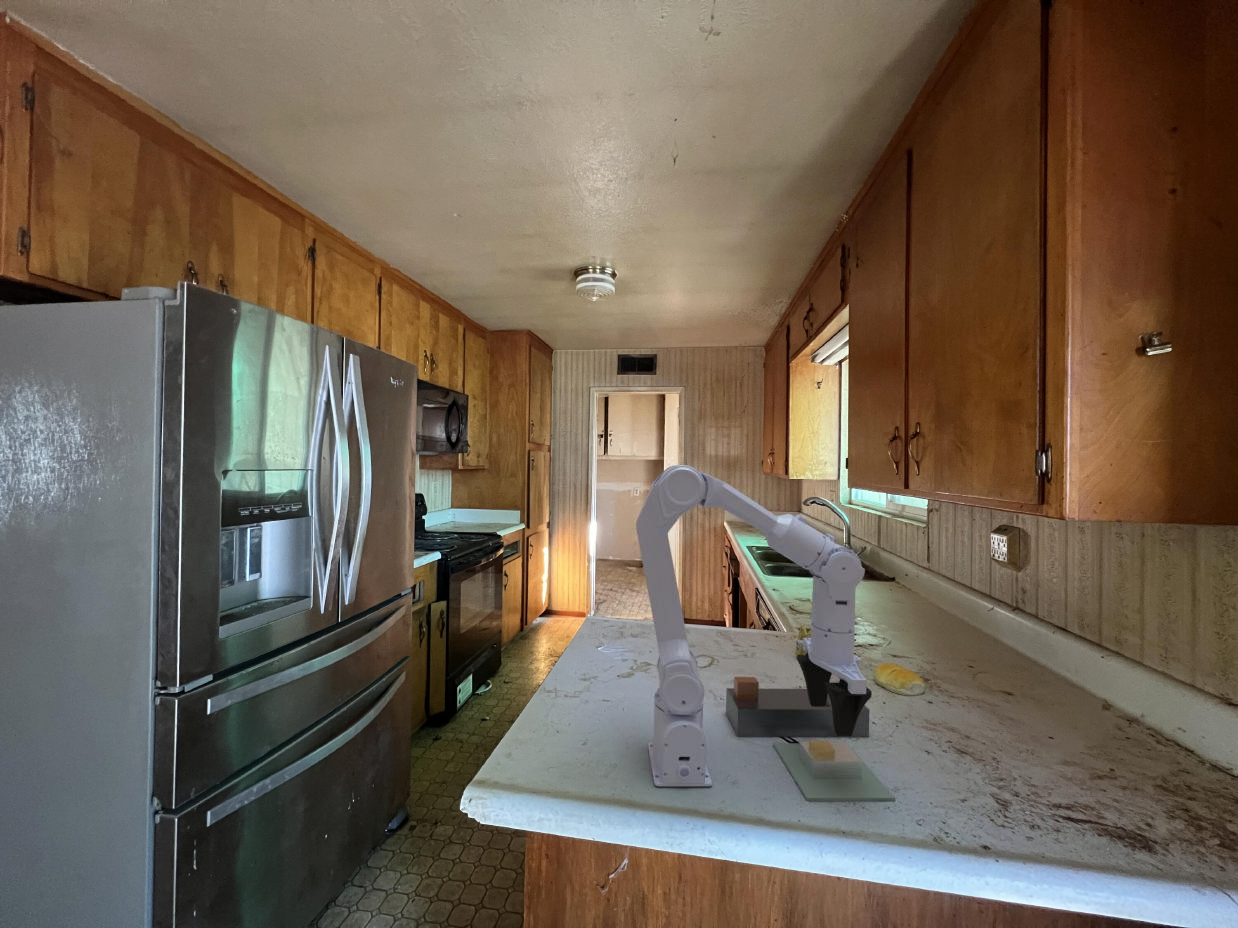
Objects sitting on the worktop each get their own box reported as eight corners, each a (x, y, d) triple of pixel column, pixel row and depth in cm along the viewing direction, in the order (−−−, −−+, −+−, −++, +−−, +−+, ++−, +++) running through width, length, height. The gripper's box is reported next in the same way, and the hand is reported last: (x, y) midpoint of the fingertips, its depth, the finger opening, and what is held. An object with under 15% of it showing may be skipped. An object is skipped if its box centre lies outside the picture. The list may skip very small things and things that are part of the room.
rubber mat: (895, 800, 62) (895, 797, 62) (806, 800, 61) (806, 797, 61) (847, 745, 74) (847, 743, 74) (773, 745, 73) (773, 743, 73)
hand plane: (868, 736, 76) (870, 690, 76) (737, 736, 75) (738, 689, 75) (846, 713, 83) (847, 671, 83) (725, 713, 82) (726, 670, 82)
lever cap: (861, 778, 65) (862, 754, 65) (813, 778, 65) (813, 754, 65) (844, 758, 70) (845, 735, 70) (799, 758, 70) (799, 735, 70)
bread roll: (895, 674, 100) (896, 656, 100) (932, 695, 92) (932, 675, 92) (863, 677, 99) (863, 659, 99) (897, 698, 90) (898, 678, 90)
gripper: (890, 646, 60) (887, 749, 60) (834, 610, 75) (831, 694, 75) (837, 645, 60) (834, 749, 60) (791, 610, 75) (789, 694, 75)
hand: (829, 719), depth 67 cm, fingers open, 7 cm apart
